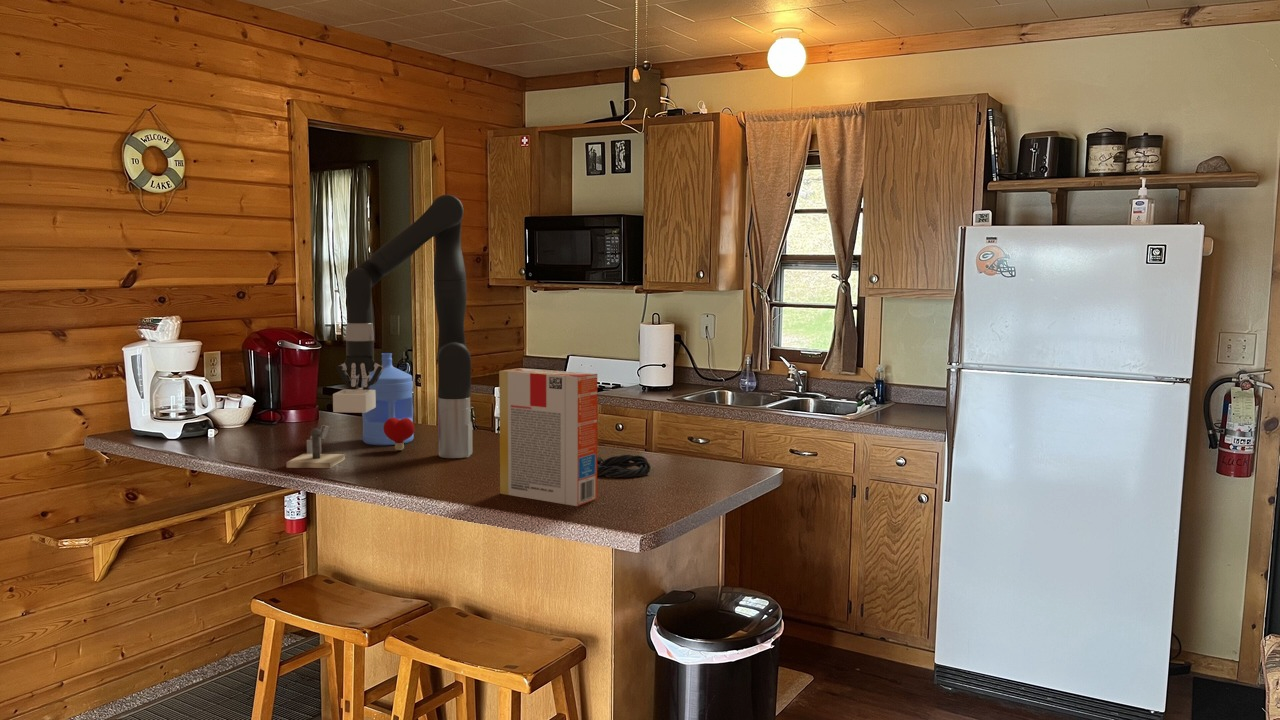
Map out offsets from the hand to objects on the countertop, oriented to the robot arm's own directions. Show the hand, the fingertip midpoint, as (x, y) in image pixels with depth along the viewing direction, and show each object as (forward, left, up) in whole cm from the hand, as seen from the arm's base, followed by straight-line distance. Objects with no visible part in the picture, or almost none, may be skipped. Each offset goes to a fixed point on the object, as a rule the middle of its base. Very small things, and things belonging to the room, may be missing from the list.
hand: (360, 399), depth 263 cm
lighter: (+16, -9, -17) cm, 25 cm away
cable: (-74, +14, -18) cm, 78 cm away
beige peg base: (+11, +6, -17) cm, 21 cm away
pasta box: (-58, +41, -17) cm, 74 cm away
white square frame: (0, +4, -2) cm, 4 cm away
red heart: (-7, -13, -17) cm, 23 cm away
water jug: (+1, -29, -17) cm, 34 cm away
